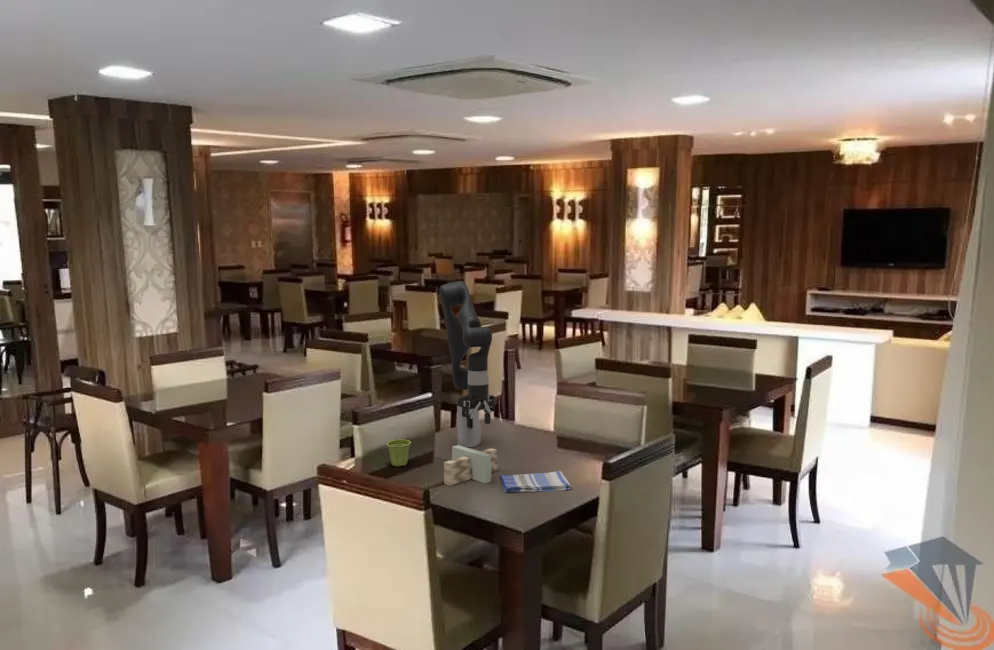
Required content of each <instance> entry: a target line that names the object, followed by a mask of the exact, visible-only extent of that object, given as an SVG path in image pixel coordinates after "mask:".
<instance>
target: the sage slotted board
mask: <svg viewBox="0 0 994 650" xmlns="http://www.w3.org/2000/svg"><path fill="white" fill-rule="evenodd" d="M463 456H465V457H468V458H470V468H472V480H474V481H477V482H481V483H483V484H488V483H491V482H492V472H491V455H490V454H487V453H483V452H480V451H479V450H477V449H473V448H471V447H463V446H460V445H458V444H457V445H453V446H451V460H453V459H457V458H460V457H463Z"/></svg>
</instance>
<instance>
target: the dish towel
mask: <svg viewBox="0 0 994 650" xmlns="http://www.w3.org/2000/svg"><path fill="white" fill-rule="evenodd" d="M499 479H500V481H501V485H502V487H503V490H504V494H506V493H507V492H508V493H534V492H556V491H570V490H571V487H572V485H571V484H570V482H569V481H568V479H567V478H566V476H564V473H563V472H562V471H561V470H557V471H553V472H552V471H550V472H538V473H537V472H536V473H526V474H525V473H521V474H518V473H517V474H504V475H503V474H500V475H499Z"/></svg>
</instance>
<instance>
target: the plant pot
mask: <svg viewBox="0 0 994 650" xmlns="http://www.w3.org/2000/svg"><path fill="white" fill-rule="evenodd" d="M411 443H412V442H411V441H410V440H409V439H408V440H407V439H393V440H389V441H387V442H386V446H387V449H388V451H389V457H390V463H391V465H392V466H394V467H401V466H407V464H408V460H409V459H408V458H409V450H410V447H411Z"/></svg>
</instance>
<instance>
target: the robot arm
mask: <svg viewBox="0 0 994 650" xmlns="http://www.w3.org/2000/svg"><path fill="white" fill-rule="evenodd" d="M439 298H440V302H441V307H442V310H443V311H442V312H443V315H444V321H445V329H446V338H447V344H448V349H449V356H450V359H451V361H450V362H451V372H452V383H453V386H454V388H455V389H456V390H466V391H467V394H466V395H462V396H460V397H459V398H457V401H456V413H457V415H456V417H457V445H460V446H463V447H466V448H473V447H477V446H479V445H480V444H482V430H481V429H482V428H481V427H482V424H481V421H480V411H483V412H484V418H483V419H484V424H485V425H490V424H491V419H492V418H491V417H492V416H491V414H492V412H495V411H496V407H495V406H496V405H495V395H491V394H490V393H489V371H488V367H489V366H488V361H489V360H488V358H489V353H490V347H491V345H492V340H493V334H492V330H491V329H490V328H489V327H486V326H482V323H481V320H480V319H479V317H478V315H477V312H476V311H475V307H474V303H473V300H472V298H471V295H470V290H469V288H468V286H467V284H466V283H465V281H463V280H458V281H453V282H450V283H445V284H442V285H440V287H439ZM457 306H461V307H460V309H459V310H458V311H459V312H458V315H457V316H456V314H455V313H454V312H453V310H452V307H457ZM470 348H479V350H478V351H476V352H474V353H471V354H469V355H468V356H467V357H468V358H467V367H462V366H461V363H462V361H463V359H464V358H465V356H466V355H467V354H468V352H469V350H470Z"/></svg>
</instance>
